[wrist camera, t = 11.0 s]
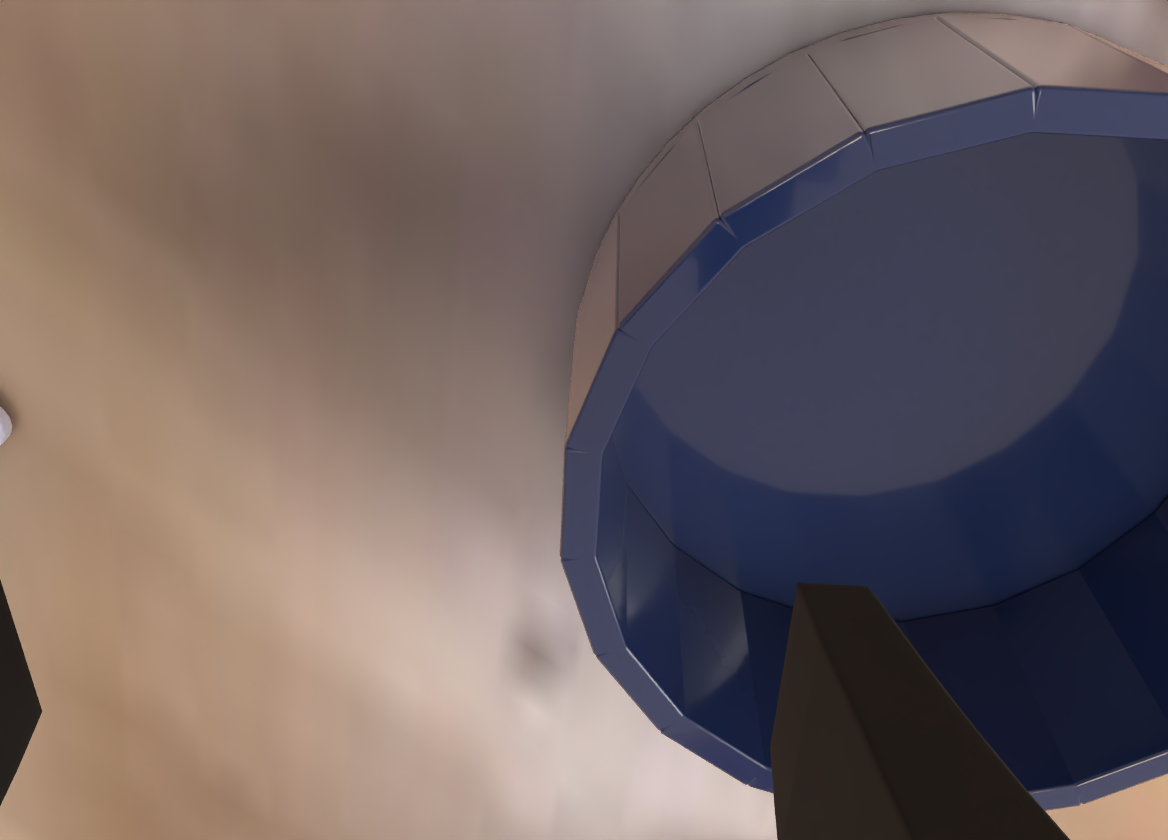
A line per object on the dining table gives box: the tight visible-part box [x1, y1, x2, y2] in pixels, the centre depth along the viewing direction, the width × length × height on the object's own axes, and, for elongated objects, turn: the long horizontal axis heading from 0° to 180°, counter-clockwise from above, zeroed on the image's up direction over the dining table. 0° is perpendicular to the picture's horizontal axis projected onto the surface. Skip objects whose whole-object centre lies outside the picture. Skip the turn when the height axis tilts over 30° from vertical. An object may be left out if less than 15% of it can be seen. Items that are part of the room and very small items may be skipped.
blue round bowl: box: [560, 12, 1168, 811], centre depth 17 cm, size 12×12×5 cm
